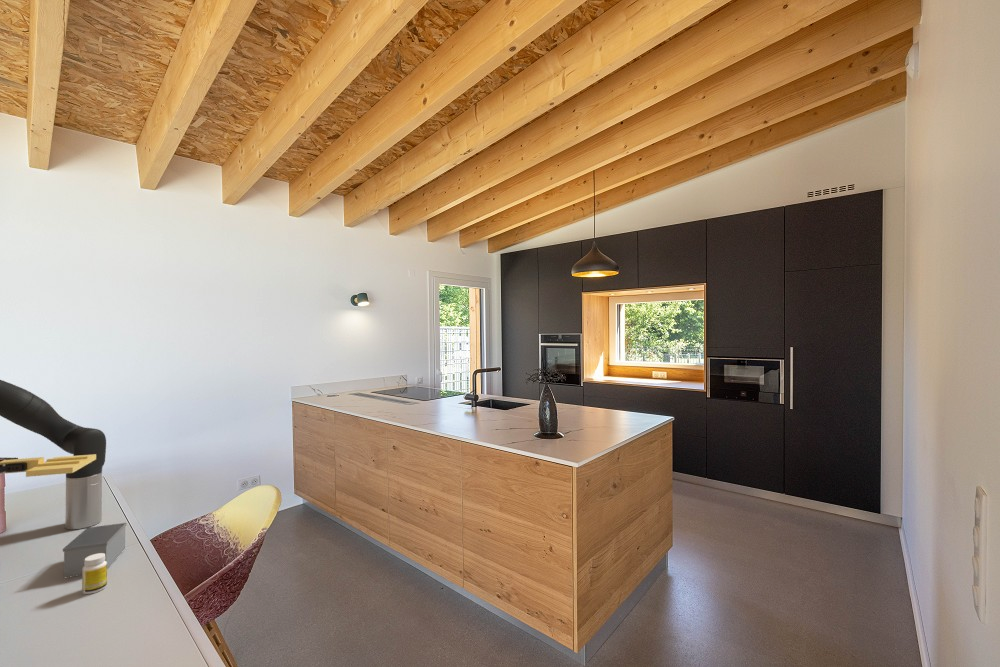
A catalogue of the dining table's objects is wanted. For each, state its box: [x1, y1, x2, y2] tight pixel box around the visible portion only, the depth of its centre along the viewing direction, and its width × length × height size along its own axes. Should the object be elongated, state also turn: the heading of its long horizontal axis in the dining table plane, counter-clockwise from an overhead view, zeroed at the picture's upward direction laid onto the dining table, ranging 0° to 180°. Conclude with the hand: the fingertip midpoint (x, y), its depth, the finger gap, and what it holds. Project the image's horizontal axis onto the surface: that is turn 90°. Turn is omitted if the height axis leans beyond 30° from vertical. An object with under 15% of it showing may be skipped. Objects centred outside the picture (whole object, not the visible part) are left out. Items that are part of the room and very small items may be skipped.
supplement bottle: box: [81, 553, 108, 595], centre depth 116 cm, size 5×5×8 cm
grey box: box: [62, 522, 127, 578], centre depth 129 cm, size 14×9×8 cm, turn 23°
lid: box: [0, 454, 96, 478], centre depth 125 cm, size 14×18×3 cm
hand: (29, 464), depth 124 cm, fingers closed on lid, 3 cm apart
